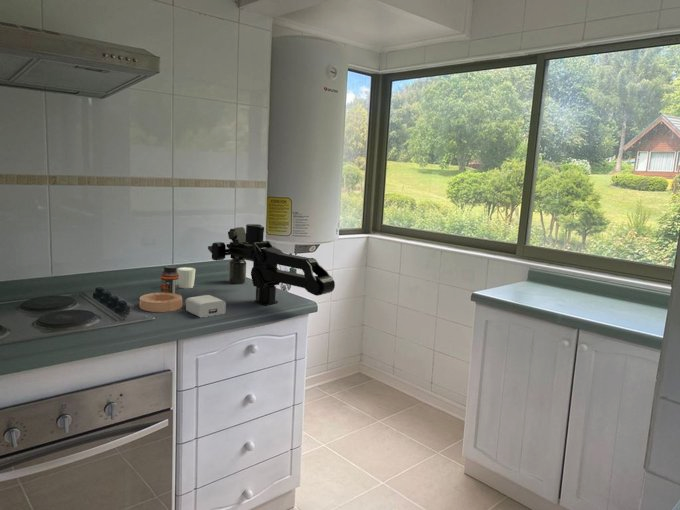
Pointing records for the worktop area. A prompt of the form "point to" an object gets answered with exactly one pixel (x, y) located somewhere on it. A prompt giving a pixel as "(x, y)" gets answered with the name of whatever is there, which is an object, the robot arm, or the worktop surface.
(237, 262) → the supplement bottle
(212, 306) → the charger
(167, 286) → the supplement bottle
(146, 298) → the collar
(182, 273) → the white tapered cylinder
